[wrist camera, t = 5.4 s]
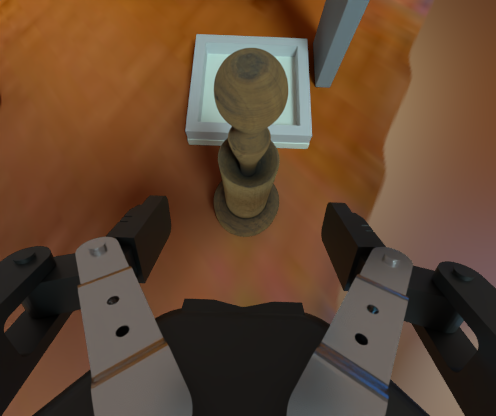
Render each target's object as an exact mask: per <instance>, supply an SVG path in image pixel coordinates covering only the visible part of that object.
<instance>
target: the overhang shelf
mask: <svg viewBox="0 0 496 416" xmlns="http://www.w3.org/2000/svg"><path fill="white" fill-rule="evenodd" d="M368 2H369V0H326V2H325V5H324V9H323V12H322V15H321V19H320V22H319V25H318V29H317V32H316V35H315V39H314V42H313V52H314V70H315V87H330V86H331V83H332V81H333V79H334V77H335V75H336V72H337V70H338V68H339V66H340V64H341V61H342V59H343V57H344V55H345V53H346V51H347V48H348V46H349V44H350V42H351V40H352V37H353V35H354V33H355V31H356V29H357V26H358V24H359V22H360V20H361V18H362V15H363V13H364V11H365V9H366V7H367V5H368ZM244 48H259V49H262V50H265V51H267V52H269V53H270V54H272V55H273V56H274V57H275V58H276V59H277V60H278V61H279V62H280V64H281V65H282V67H283V69H284V71H285V73H286V76H287V80H288V99H287V103H286V106H285V108H284V111H283V112H282V114H281V115H280V117H279V118H278V119H277V120H276V121H275V122H274V123H273V124H272V125H270V126H269V127H268V129H269V131H270V134H271V141H272V142H273V143H274V145H275V146H276V148H299V149H307V148H308V146H309V141H310V139H311V137H312V125H311V105H310V84H309V64H308V44H307V39H302V38H277V37H253V36H228V35H204V34H197V35H196V43H195V52H194V60H193V69H192V77H191V86H190V95H189V103H188V112H187V120H186V129H185V132H186V134H187V137H188V139H187V140H188V143H189V145H216V146H221V145H222V143H223V142H224V141H225V140H226V139H227V138H228V133H229V130H230V128H231V127H232V126H231V125H230V124H228V123H227V122H226V121H225V120H224V119H223V117H222V116H221V115H220V113H219V111H218V109H217V106H216V103H215V98H214V81H215V77H216V74H217V71H218V69H219V67H220V66H221V64H222V63H223V61H224V60H225V59H226V58H227V57H228V56H229V55H231V54H232V53H234V52H235V51H237V50H240V49H244Z"/></svg>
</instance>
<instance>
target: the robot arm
mask: <svg viewBox="0 0 496 416" xmlns="http://www.w3.org/2000/svg"><path fill="white" fill-rule="evenodd" d="M170 232H171V219H170V212H169V205H168V199H167V197H166V196H153V195H150V196H149V197H148V198H147V199H146V200H145V202H144V203H143V204H142V205H137V206H135V207H134V208H132V209H130V210H129V211H128V212H127V213H126V214H125V216H124V217H123V218H122V219H121V220H120V222H118V223H117V224H116V226H115V227H114V228H113V229H112V230H111V231H110V232H109V233H108V234H107V235H106V237H100V238H95V239H92V240H90V241H87V242H85V243H84V244H82V245H81V246H80V247H79V248H78V249H77V250H76V253H74V254H68V255H62V256H56V257H53V255H52V253H51V251H50V249H49V248H47V247H44V246H35V247H30V248H26V249H22V250H20V251H17V252H15V253H13V254H11V255H9V256H8V257H6V258H5V259H3V260H2V261H1V262H0V416H2V414H3V413H4V411H5V410H6V408H7V407H8V405H9V404H10V402H11V401H12V400H13V398H14V397H15V395H16V394H17V392H18V391H19V389H20V388H21V386H22V385H23V383H24V382H25V381H26V379H27V378H28V376H29V375H30V373H31V372H32V370H33V369H34V367H35V366H36V364H37V363H38V362H39V360H40V359H41V357H42V356H43V354H44V353H45V351H46V350H47V348H48V347H49V345H50V344H51V342H52V341H53V340H54V338H55V337H56V335H57V334H58V332H59V331H60V329H61V328H62V326H63V325H64V323H65V322H66V321H67V319H68V318H69V316H70V315H71V313H72V312H73V311H75V310H80V309H81V313H82V319H83V325H84V331H85V338H86V344H87V350H88V356H89V363H90V370H89V371H88V372H86V373H85V374H84V375H83V376H81V377H80V378H79V379H78V380H76V381H75V382H74V383H73V384H71V385H70V386H69V387H68V388H66V389H65V390H64V391H63V392H61V393H60V394H59V395H58V396H56V397H55V398H54V399H53V400H51V401H50V402H49V403H47V404H46V405H45V406H44V407H42V408H41V409H40V410H39V411H37V412H36V413H35V414H34V415H32V416H430V415H429V414H427V413H426V412H425V411H424V410H423V409H422V408H421V407H420V406H419V405H418V404H417V403H416V402H414V401H413V400H412V399H411V398H410V397H409V396H408V395H407V394H406V393H405V392H403V391H402V390H401V389H400V388H399V387H398V386H397V385H396V384H395V383H394V382H393V381H392V380H391V379H390V377H391V373H392V368H393V364H394V360H395V355H396V351H397V347H398V343H399V338H400V334H401V329H402V326H403V321H406V322H410V323H412V325H413V327H414V329H415V330H416V332H417V334H418V336H419V337H420V339H421V340H422V342H423V344H424V346H425V348H426V349H427V351H428V352H429V355H430V356H431V358H432V360H433V361H434V363H435V365H436V367H437V368H438V370H439V372H440V374H441V375H442V377H443V378H444V380H445V382H446V384H447V385H448V387H449V389H450V391H451V392H452V394H453V396H454V398H455V399H456V401H457V403H458V405H459V406H460V408H461V409H462V411H463V413H464V415H465V416H496V288H495V287H494V286H492V285H491V284H490V283H489V282H488V281H487V280H486V279H485V278H484V277H483V276H482V275H480V274H479V273H478V272H476V271H475V270H473V269H471V268H469V267H467V266H464V265H462V264H459V263H455V262H441V263H439V265H438V266H437V268H436V270H435V271H433V270H429V269H425V268H420V267H416V266H413V263H412V261H411V260H410V259H409V258H408V257H407V256H406V255H405V254H403V253H402V252H400V251H398V250H395V249H392V248H388V247H386V246H385V245H384V244H383V243H382V241H381V240H380V239H379V238H378V236H377V235H376V234H375V232H373V230H372V228H371V227H370V226H369V225H368V223H367V222H366V221H365V220H364V219H363V218H362V217H360V216H359V215H357V214H356V213H352V212H351V210H350V209H349V208H348V206H347V205H346V204H345V203H331V202H330V203H328V205H327V208H326V212H325V217H324V221H323V226H322V232H321V236H322V241H323V243H324V246H325V248H326V250H327V253H328V255H329V257H330V260H331V262H332V264H333V267H334V269H335V271H336V274H337V276H338V278H339V281H340V283H341V285H342V288H343V290H344V291H348V293H347V295H346V296H345V298H344V300H343V302H342V304H341V306H340V308H339V310H338V312H337V313H336V315H335V317H334V319H333V321H332V323H331V325H330V324H328V323H327V322H325V321H323V320H322V319H320V318H318V317H316V316H313V315H310V314H308V313H304V309H303V305H302V303H295V302H269V303H264V304H259V305H254V306H248V307H239V306H236V305H232V304H228V303H224V302H220V301H217V300H208V299H184V303H183V306H182V308H181V309H177V310H173V311H170V312H168V313H165V314H163V315H161V316H159V317H157V318H154V316H153V314H152V312H151V309H150V307H149V305H148V303H147V301H146V298H145V296H144V294H143V292H142V289H141V287H140V285H139V283H145V282H146V280H147V278H148V276H149V274H150V272H151V270H152V268H153V266H154V264H155V262H156V261H157V259H158V257H159V255H160V253H161V251H162V249H163V247H164V245H165V243H166V241H167V239H168V237H169V235H170ZM20 304H22V305H23V307H24V309H25V311H24V312H23V313H22V314H21V315H20V316H19V318H18V319H17V320H16V321H15V322H14V323H13V324H12V325H11V327H10V328H9V329H8V330H7V331H6V332H5V333H4V325H5V322H6V320H7V318H8V317H9V316H10V315H11V313H12V312H13V311H14V310H15V309H16V308H17V307H18V306H19V305H20ZM463 321H465V322H466V323H467V324H468V326H469V327H470V328H471V329H472V331H473V332H474V333H475V335H476V337H477V339H478V344H479V347H478V351H477V349H476V348H475V347H474V346H473V344H472V343H471V342H470V340H469V339H468V338H467V336H466V335H465V334H464V332H463V331H462V330H461V328H460V325H461V324H462V322H463Z"/></svg>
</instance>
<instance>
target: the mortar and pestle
mask: <svg viewBox="0 0 496 416" xmlns="http://www.w3.org/2000/svg"><path fill="white" fill-rule="evenodd" d="M214 98H215V103H216V106H217V109H218V111H219V113H220V115H221V116H222V117H223V119H224V120H225V121H226V122H227V123H228V124H230V125H231V126H232V127H231V128H230V130H229V133H228V138H227V139H226V140H225V141H224V142H223V143H222V145H221V147H220V149H219V153H218V164H219V169H220V173H221V177H222V181H221V182H220V184H219V185H218V187H217V189H216V192H215V195H214V209H215V213H216V216H217V219H218V221H219V222H220V224H221V225H222V227H223V228H224V229H225V230H227V231H228V232H230V233H232V234H234V235H237V236H242V237H248V236H253V235H256V234H259V233H261V232H262V231H264V230H265V229H266V228H267V227H268V226H269V225H270V224H271V223H272V221H273V220H274V218H275V216H276V214H277V211H278V207H279V195H278V192H277V189H276V187H275V185H274V184H273V182H274V179H275V176H276V174H277V171H278V168H279V154H278V150H277V148H276V146H275V145H274V143H273V142H272V141H271V134H270V131H269V129H268V127H269V126H270V125H272V124H273V123H274V122H275V121H276V120H277V119H278V118H279V117H280V115H281V114H282V112H283V111H284V108H285V106H286V103H287V99H288V80H287V76H286V73H285V71H284V69H283V67H282V65H281V64H280V62H279V61H278V60H277V59H276V58H275V57H274V56H273V55H272V54H270V53H269V52H267V51H265V50H262V49H259V48H244V49H240V50H237V51H235V52H234V53H232V54H231V55H229V56H228V57H227V58H226V59H225V60H224V61H223V63H222V64H221V66H220V67H219V69H218V71H217V74H216V77H215V81H214Z"/></svg>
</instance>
